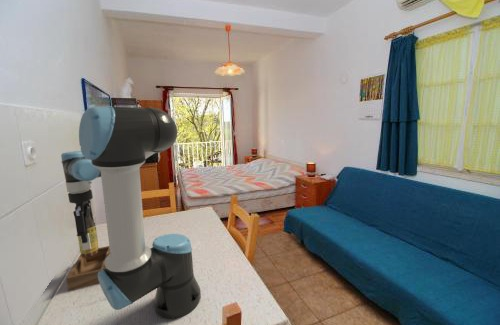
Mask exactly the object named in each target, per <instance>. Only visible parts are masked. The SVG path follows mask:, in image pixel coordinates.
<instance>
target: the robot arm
mask: <svg viewBox="0 0 500 325" xmlns="http://www.w3.org/2000/svg"><path fill="white" fill-rule="evenodd" d="M177 126H178V125H176V122H175V120H174V119H173V118H172V117H171V115H170V114H168V113H167V112H165V111H164V110H162V109H159V108H156V107H137V106H135V107H133V106H111V105H109V106H108V105H107V106H94V107H92V106H91V107H90V108H87V109H85V111H84V112H83V113H82V116H81V118H80V122H79V129H78V142H79V146H80V150H75V151H65V152H63V153H61V154H60V155H61V156H60V157H61V164H62V169H63V174H64V178H65V186H66V191H67V195H68V202H69V203H70V204H75V207H74V211H73V212H72V214H73V216H74V217H73V218H74V220H75V221H74V222H75V229H76V233H77V234H76V237H78V236H80V239H81V244H82V250H88V249H91V244H90V238H89V233H88V232H87V218H86V217H87V216H88V211H87V210H88V207H90V215H91V218H92V219H93V221H94V222H95V220H94V214H93V210H92V203H91V202H92V201H91V200H92V199H93V197H94V196H93V191H92V189H91V188H92V186H91V184H92V183H93V182H92V181H93V180H95V179H97V178H101V187H102V193H103V195H102V196H103V202H104V212H105V220H106V229H107V237H108V238H107V239H108V246H109V248H110V254H109V255H108V256H107V258H106V259H105V269H102V270H101V271H99V272H98V280H99V286H100V288H101V290H102V292H103V294H104V296H105V298H106V300H107V302H108V303H109V306H110V307H111V308H112V309H113V310H117V311H120V310H122V309H124V308H126V307H128V306H130V305H133V304H134V303H135V302H137V301H138V300H140V299H142V298H143V297H145V296H146V295H148V294H150V293H152V292H153V291H154V290H155V296H154V302H153V303H154V310H155V313H156V314H157V315H158V316H160V318H163V319H178V318H181V317H184V316H186V315H188V314H190V313H191V312H192V311H193V310H195V309H196V308H197V306H198V305H199V304H200V301H201V299H202V298H201V297H202V294H201V287H200V285H199V283H198V281H197V279H196V277H195V275H194V264H193V263H194V262H193V254H192V252H193V248H192V244H191V240H190V237H188V236H187V235H185V234H182V233H181V234H180V233H166V234H163V235H160V236H158V237H156V238H154V240H153V241H152V244H151V245H152V247H151V248H150V247H149V246H147V245H146V239H145V227H144V226H145V225H144V213H143V198H142V197H143V196H142V185H141V172H140V169H141V167H142V166H143V165H144V164H145V163H146V160H147V159H148V158H150V157H151V156H153V155H154V154H157V153H162V152H165V151H166V150H168V149H170V148H172V146H173V145H175V142H176V140H177V138H178V127H177ZM83 214H85V215H83Z"/></svg>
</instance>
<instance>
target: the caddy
mask: <svg viewBox="0 0 500 325" xmlns="http://www.w3.org/2000/svg"><path fill="white" fill-rule="evenodd" d="M98 250H99V251H98V253H96V254H95V255H93V256H90V257H86V258H85V257H82V256H81V254H80V255H79V257H78V258H77V259H76V261H75V263H74V264H73V266H72V268H71V270H70V272H69V274H68V275H67V277H66V283H67V284H66V285H67V288H68V292H70V291H75V290H78V289H82V288H86V287H91V286H94V285H98V284H99V285H100V283H99V280H98V272H99V271H101V270H102V269H105V259H106V258H107V256H108V255H109V254H110V248H109V245H107V246H101V247H99V248H98Z"/></svg>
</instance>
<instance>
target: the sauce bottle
mask: <svg viewBox="0 0 500 325" xmlns="http://www.w3.org/2000/svg"><path fill="white" fill-rule="evenodd" d="M87 211H88V216H87V217H86V218H87V232H88V233H89V238H90V244H91V249H88V250H82V244H81V239H80V236H77V238H78V246H79V247H78V248H79V252H80V255H81V256H82V257H85V258H86V257H90V256H93V255H95V254H96V253H98V251H99V250H98V248H100V246H99V241H98V232H97V226H96V222H95V220H94V221H93V219H94V218H93V219H92V218H91V215H90V207H88V210H87ZM83 215H85V214H83Z"/></svg>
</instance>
